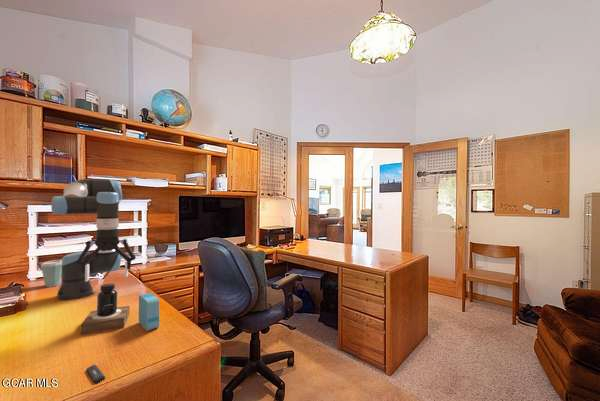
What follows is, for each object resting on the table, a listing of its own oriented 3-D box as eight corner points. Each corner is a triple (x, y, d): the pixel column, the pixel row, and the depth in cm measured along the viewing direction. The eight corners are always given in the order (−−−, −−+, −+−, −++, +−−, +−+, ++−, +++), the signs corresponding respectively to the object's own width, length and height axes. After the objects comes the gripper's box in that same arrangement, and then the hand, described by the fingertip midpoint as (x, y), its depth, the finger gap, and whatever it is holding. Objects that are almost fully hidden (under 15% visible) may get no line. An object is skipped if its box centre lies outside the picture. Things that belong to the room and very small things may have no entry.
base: (91, 320, 114) (91, 310, 114) (129, 314, 120) (129, 305, 120) (80, 335, 101) (80, 323, 101) (123, 327, 107) (123, 317, 107)
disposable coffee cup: (52, 288, 157) (52, 263, 157) (34, 288, 157) (35, 263, 157) (68, 283, 167) (68, 259, 168) (51, 282, 168) (52, 259, 168)
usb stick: (85, 372, 79) (85, 367, 79) (96, 368, 81) (96, 363, 81) (94, 385, 73) (94, 380, 73) (105, 380, 75) (105, 375, 75)
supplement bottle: (106, 317, 106) (106, 288, 106) (92, 316, 108) (92, 287, 108) (121, 311, 113) (121, 283, 113) (107, 309, 114) (108, 282, 115)
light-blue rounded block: (159, 328, 106) (159, 298, 106) (146, 332, 103) (147, 301, 103) (150, 319, 115) (150, 291, 115) (138, 322, 112) (138, 294, 112)
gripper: (66, 230, 102) (66, 285, 102) (140, 228, 113) (140, 277, 113) (73, 228, 109) (72, 279, 109) (142, 226, 119) (142, 273, 119)
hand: (107, 278), depth 111 cm, fingers open, 13 cm apart
